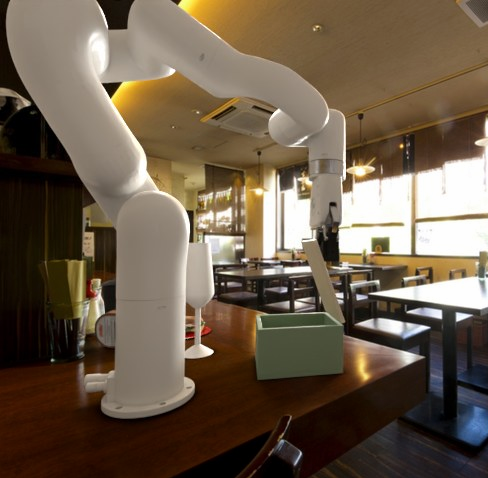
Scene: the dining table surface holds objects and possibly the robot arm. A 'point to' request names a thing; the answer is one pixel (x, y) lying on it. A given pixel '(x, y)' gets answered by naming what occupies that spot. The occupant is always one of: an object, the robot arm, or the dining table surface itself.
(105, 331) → the tin
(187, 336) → the hamburger
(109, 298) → the drinking cup
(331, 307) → the lid
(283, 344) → the chest
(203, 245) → the champagne flute
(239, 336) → the dining table surface
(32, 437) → the dining table surface
